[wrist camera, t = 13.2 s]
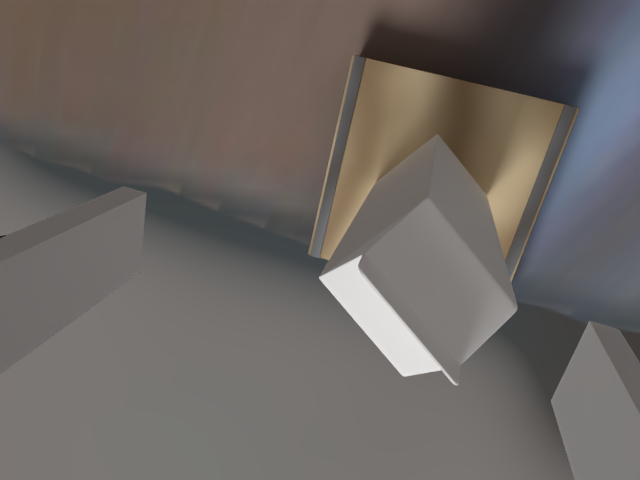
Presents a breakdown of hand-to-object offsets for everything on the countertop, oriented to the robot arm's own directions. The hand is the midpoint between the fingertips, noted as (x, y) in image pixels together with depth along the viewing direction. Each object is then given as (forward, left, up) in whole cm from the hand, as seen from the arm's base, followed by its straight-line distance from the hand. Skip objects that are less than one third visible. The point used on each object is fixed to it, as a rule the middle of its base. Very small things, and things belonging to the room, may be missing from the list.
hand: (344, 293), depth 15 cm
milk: (+2, -2, -26) cm, 26 cm away
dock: (+2, -2, -28) cm, 29 cm away
